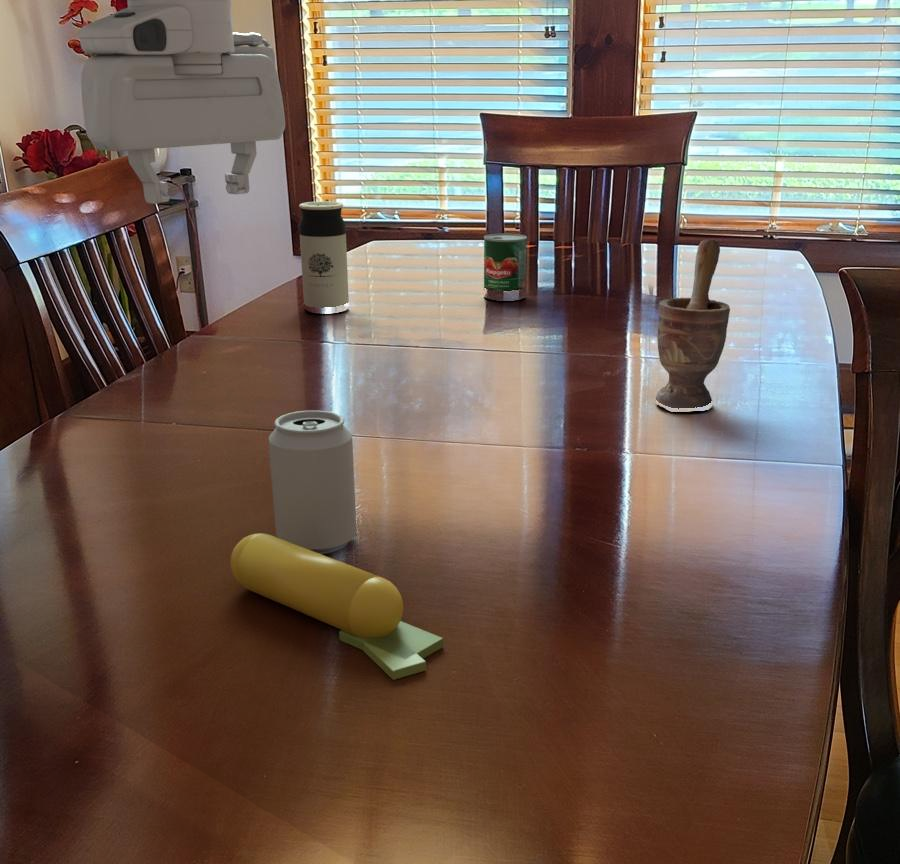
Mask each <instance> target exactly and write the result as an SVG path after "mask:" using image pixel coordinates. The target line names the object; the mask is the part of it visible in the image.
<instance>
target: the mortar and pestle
mask: <svg viewBox="0 0 900 864" xmlns="http://www.w3.org/2000/svg"><path fill="white" fill-rule="evenodd" d="M720 252H721V245H720V243H719V242H718V241H717V240H716V239H710V238H706V239H703V240H701V241H700V243H699V244H698V246H697V250H696V255H695V262H694V275H693V276H694V277H693V278H694V279H693V285H692V292H691V296H690V297H675V298H666V299H662V300H660V301H659V305H658V324H657V336H656V337H657V351H658V359H659V362H660V365H661V366H662V367H663V368H664V370H665V371H666V372H667V373H668V382H667V383H666V385H665V386H664V387H661V388H660V389H659V390H658V392H657V393H656V396H655V399H656V400H657V401H658V402H659V403H661V404H663V405H665V406H668V407H671V408H678V409H679V408H695V407H696V408H697V407H703V406H706V405H708V404H709V403H711V401H713V399H712V395H711V393H710V391H709V389H708V388H707V386H706V385H705V380H706V378H707V377H708V375H709V374H711V372H713V371H714V370H715V369H716V368H717V366H718V364H719V361H720V359H721V356H722V354H723V350H724V348H725V343H726V340H727V330H728V325H729V318H730V313H731V307H730V305H729V304H728V303H726V302H723V301H717V300H716V299H710V298H709V297H710V296H709V293H710V289H711V285H712V280H713V276H714V275H715V272H716V269H717V267H718V262H719V258H720Z"/></svg>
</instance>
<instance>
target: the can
mask: <svg viewBox="0 0 900 864" xmlns="http://www.w3.org/2000/svg"><path fill="white" fill-rule="evenodd" d="M273 424H274V427H275V428H274V430H273V431H272V432H271V433H270V434H269V437H268V451H269V464H270V476H271V489H272V499H273V500H272V501H273V512H274V524H275V537H277V538H279V539H282V540H285V541H287V542H290V543H293V544H295V545H298V546H301V547H303V548H306V549H308V550H311V551H314V552H316V553H319V554H322V555H324V554H330V553H334V552H337V551H339V550H341V549H344V548H345V547H346V546H347V545H348V544H349V543H350V542H351V541H352V540H353V539H354V538H355V537H356V536H357V510H356V509H357V507H356V490H355V489H356V487H355V468H354V466H355V465H354V444H353V442H354V441H353V433H352V432H351V431H350V430H349V429H348V428H347V427H346V426H345V418H344V417H343V416H342V415H341V414H338V413H336V412H332V411H327V410H319V409H318V410H300V411H293V412H288V413H286V414H283V415H281V416H279V417H277V418H276V419H275V420H274V422H273Z"/></svg>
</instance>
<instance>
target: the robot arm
mask: <svg viewBox="0 0 900 864" xmlns="http://www.w3.org/2000/svg"><path fill="white" fill-rule="evenodd" d="M126 1H127V7H126V8H122V9H121V10H118V11H116V12H114V13H111V14H109V15H107V16H104V17H102V18H100V19H97V20H94V21H92V22H90V23H87V24H85V25H83V26H82V27H80V28H79V32H78V38H79V44H80V47H81V50H82V51H83V53H85V54H87V55H90V57H88V58H87V60H85V62H84V64H83V66H82V70H81V75H80V88H81V90H80V91H81V104H82V113H83V114H82V115H83V122H84V127H85V128H84V129H85V133H86V136H87V138H88V139H89V141H90V142H91V144H92V145H93V146H94V147H95V148H96V150H99V151H106V152H127V159H128V164H129V165H130V167H131V169H132V171H133V172H134V173H135V174H136V176H137V177H138V179H139V180H140V182H141V183H142V188H143V197H144V200H145V202H146V203H147V204H152V205H157V204H163V203H169V201H170V194H169V182H168V181H162V180H160V178H159V177H158V174H157V173H156V171H155V169H154V167H153V166H152V163H156V161H157V160H156V152H155V151H156V150H155V149H167V148H181V147H183V148H184V147H194V146H195V147H196V146H210V145H221V144H223V145H225V144H230V153H231V154H233V155H235V157H234V159H233V163H232V164H233V165H232V168H231V172H229V173H224V181H225V183H226V185H225V190H226V192H227V194H229V195H243V194H248V193H249V192H250V179H249V174H250V173H251V171H252V167H253V165H254V162H255V159H256V157H257V154H258V153H257V142H264V141H276V140H280V139H281V138H282V136H283V134H284V131H285V129H286V116H285V108H284V100H283V94H282V90H281V84H280V79H279V75H278V71H277V67H276V55H275V51H274V48H273V47H272V46H271V44H270V43H269V41H267V40H266V39H264V38H263V36H262V35H261V34H260V33H256V32H247V33H240V32H234V26H233V13H232V2H231V1H232V0H126ZM261 45H264V46H261Z"/></svg>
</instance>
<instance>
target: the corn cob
mask: <svg viewBox="0 0 900 864" xmlns="http://www.w3.org/2000/svg"><path fill="white" fill-rule="evenodd" d="M230 571H231V573H232V575H233V578H234V579H235V581H236V582H237V583H238V584H239V585H240V586H242V587H243V588H245V589H246V590H248V591H250V592H253V593H255V594H257V595H260V596H261V597H264V598H267V599H269V600H271V601H274V602H276V603H278V604H281V605H283V606H286V607H287V608H290V609H292V610H295V611H297V612H299V613H302V614H304V615H306V616H309V617H311V618H313V619H315V620H318V621H320V622H322V623H325V624H327V625H330V626H331V627H334V628H336V629H338V630H339V631H338V637H339V641H341V642H343V643H345V644H347V645H350V646H352V647H354V648H357V649H358V650H361V651H363V653H365V654H366V655H367V656H368V657H369V658H370V659H371V661H373V662H374V663H375V664H376V665H377V666H378V667H379V668H380V669H381V670H382V671H383V672H384V673H385V674H386V675H387V676H388V677H389V678H390V679H391V680H393V681H395V680H399V679H402V678H405V677H408V676H411V675H412V676H413V675H415V674H417V673H418V674H419V673H423V672H426V671H427V662H426V660H425V659H426V658H427V657H429V656H430V655H432V654H433V653H435V652H437V651H439V650H441V649H442V648H444V638H443V637H441V636H439V635H436V634H434V633H431V632H429V631H426V630H424V629H421V628H419V627H416V626H413V625H412V624H409V623H407V622H404V621H402V618H403V616H404V615H403V614H404V600H403V597H402V594H401V592H400V591H399V589H398V588H397V586H396V585H395V584H393V582H391V581H390V580H388V579H386V578H385V577H382V576H379V575H376V574H375V573H372V572H369V571H366V570H364V569H360V568H358V567H356V566H353V565H350V564H348V563H345V562H343V561H341V560H337V559H334V558H332V557H330V556H327V555H324V554H319V553H316V552H314V551H311V550H308V549H306V548H303V547H301V546H298V545H295V544H293V543H290V542H287V541H285V540H282V539H279V538H277V536H274V535H272V534H268V533H264V532H263V533H261V532H260V533H251V534H249V535H247V536H245V537H243V538H242V539H240V541H238V542H237V543H236V545H235V546H234V547H233V549H232V552H231V555H230Z"/></svg>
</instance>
